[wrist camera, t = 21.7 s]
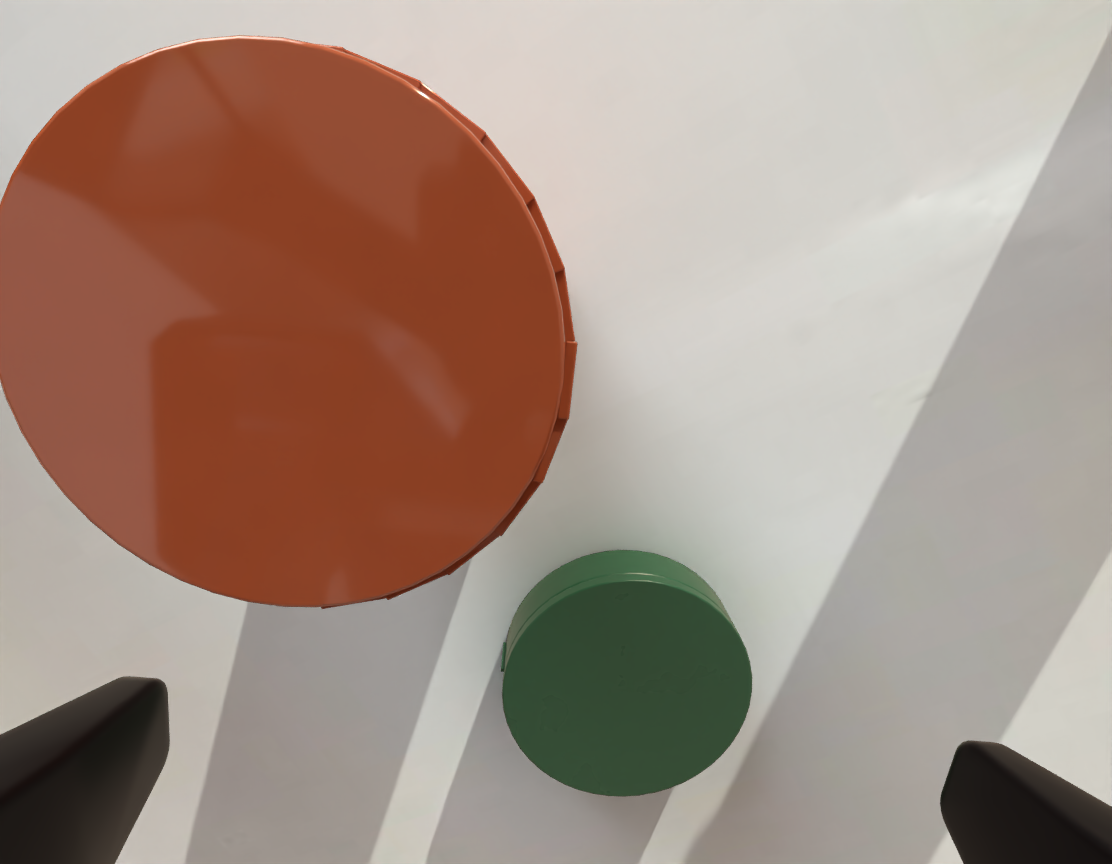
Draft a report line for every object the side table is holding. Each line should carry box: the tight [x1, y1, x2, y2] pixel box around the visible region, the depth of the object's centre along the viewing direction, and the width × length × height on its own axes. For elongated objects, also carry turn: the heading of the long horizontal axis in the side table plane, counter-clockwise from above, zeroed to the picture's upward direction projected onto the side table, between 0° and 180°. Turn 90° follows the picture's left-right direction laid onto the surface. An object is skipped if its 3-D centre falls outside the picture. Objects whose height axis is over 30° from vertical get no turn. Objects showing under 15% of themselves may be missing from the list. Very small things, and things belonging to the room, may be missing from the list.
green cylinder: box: [501, 550, 752, 796], centre depth 18 cm, size 7×7×2 cm
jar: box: [0, 35, 577, 609], centre depth 11 cm, size 6×6×11 cm
